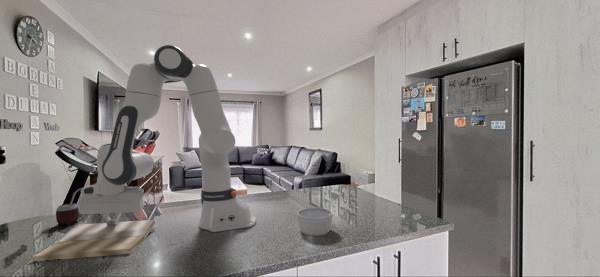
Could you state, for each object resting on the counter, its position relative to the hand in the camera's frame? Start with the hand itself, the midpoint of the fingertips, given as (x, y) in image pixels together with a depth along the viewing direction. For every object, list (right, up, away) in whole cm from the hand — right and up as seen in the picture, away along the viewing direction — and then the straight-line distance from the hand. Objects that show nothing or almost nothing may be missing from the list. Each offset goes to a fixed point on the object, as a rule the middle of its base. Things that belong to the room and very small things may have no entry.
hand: (112, 224), depth 97 cm
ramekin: (+75, -3, +2) cm, 75 cm away
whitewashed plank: (+1, -2, -2) cm, 4 cm away
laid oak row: (+3, -4, -13) cm, 14 cm away
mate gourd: (-26, -4, +11) cm, 28 cm away
